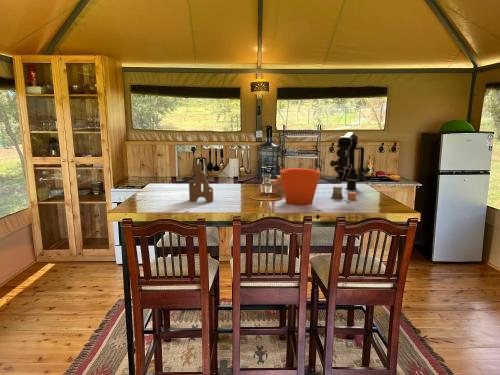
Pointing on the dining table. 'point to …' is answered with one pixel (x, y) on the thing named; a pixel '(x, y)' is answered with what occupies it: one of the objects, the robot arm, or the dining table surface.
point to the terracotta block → (352, 195)
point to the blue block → (337, 189)
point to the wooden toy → (196, 189)
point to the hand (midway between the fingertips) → (342, 180)
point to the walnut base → (337, 196)
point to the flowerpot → (299, 185)
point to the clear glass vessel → (277, 185)
